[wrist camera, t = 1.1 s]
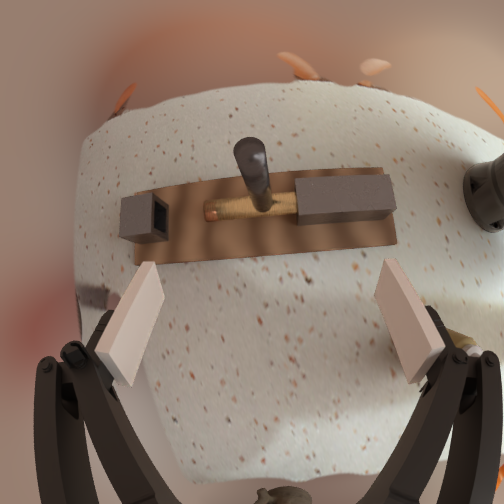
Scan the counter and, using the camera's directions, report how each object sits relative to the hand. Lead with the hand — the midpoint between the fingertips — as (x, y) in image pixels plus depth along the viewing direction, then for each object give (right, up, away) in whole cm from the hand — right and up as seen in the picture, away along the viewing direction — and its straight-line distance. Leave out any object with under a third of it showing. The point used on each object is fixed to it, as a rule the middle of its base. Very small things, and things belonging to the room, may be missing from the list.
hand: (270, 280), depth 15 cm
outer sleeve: (+13, +9, +28) cm, 33 cm away
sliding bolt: (+5, +9, +27) cm, 29 cm away
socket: (-19, +6, +32) cm, 37 cm away
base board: (0, +8, +31) cm, 32 cm away
